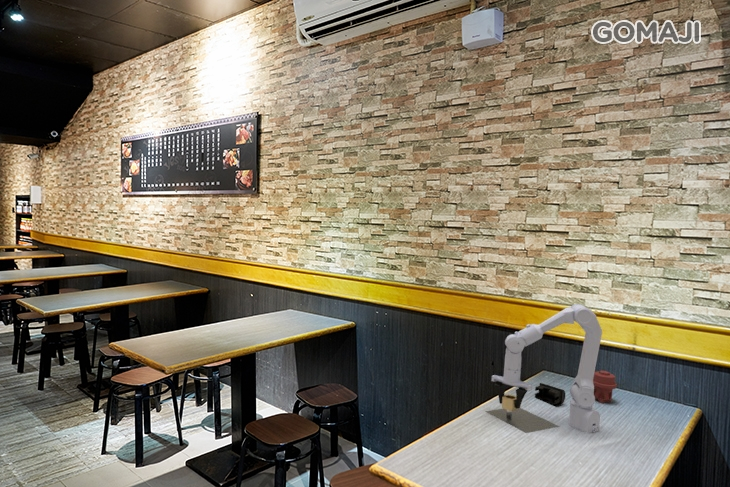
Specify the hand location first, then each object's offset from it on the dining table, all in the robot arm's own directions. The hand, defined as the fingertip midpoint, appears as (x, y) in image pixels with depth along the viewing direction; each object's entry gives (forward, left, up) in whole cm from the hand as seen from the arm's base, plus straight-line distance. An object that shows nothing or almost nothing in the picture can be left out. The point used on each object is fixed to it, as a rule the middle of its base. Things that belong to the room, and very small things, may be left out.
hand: (509, 405), depth 175 cm
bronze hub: (0, 0, -1) cm, 1 cm away
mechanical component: (+3, -56, -6) cm, 56 cm away
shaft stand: (-3, -3, -6) cm, 7 cm away
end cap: (+9, -31, -6) cm, 33 cm away
